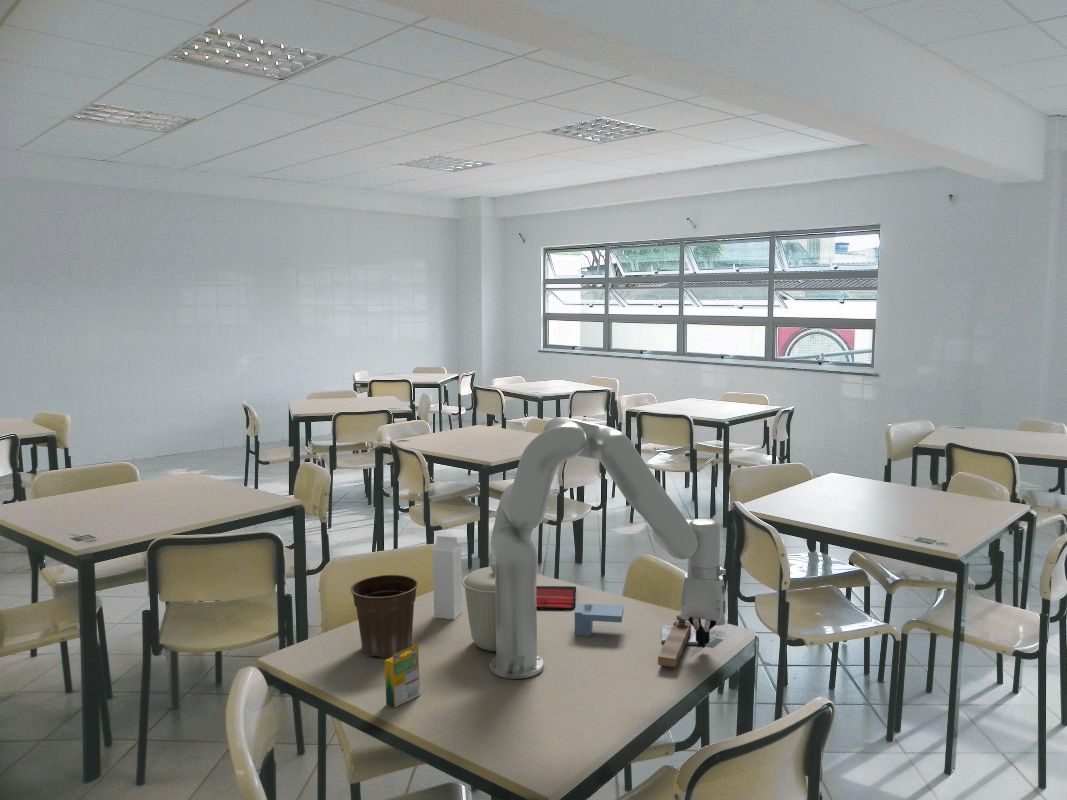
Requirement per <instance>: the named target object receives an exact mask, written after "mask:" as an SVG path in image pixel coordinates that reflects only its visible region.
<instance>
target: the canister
mask: <svg viewBox="0 0 1067 800" xmlns="http://www.w3.org/2000/svg"><path fill="white" fill-rule="evenodd" d="M462 587H464V593H465V601H466V609H467V615H468V622H469V628H470V629H469V630H470V635H471V639H472V641H473V643H474V644H475V645H476V646H477V647H478V648H480V649H482V650H484V651H489V652H496V615H495V561H493V562H492V563H491V565H490V566H487V567H481V568H478V569H475V570H473V571H471V572H469V573H468V574H466V575H465V576H464V577H463V578H462Z"/></svg>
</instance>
